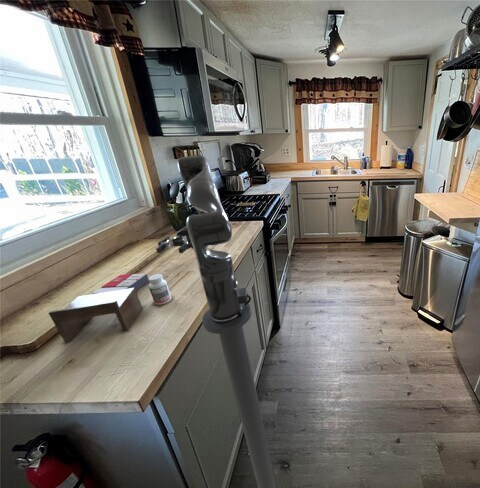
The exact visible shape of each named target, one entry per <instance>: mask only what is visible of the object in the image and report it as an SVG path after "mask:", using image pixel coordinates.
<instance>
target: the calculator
mask: <svg viewBox="0 0 480 488" xmlns="http://www.w3.org/2000/svg"><path fill="white" fill-rule="evenodd" d="M148 278H149V276H148V274H146V273H133V274H131V273H128V274H127V273H126V274H119V275H118V276H116V277H114V278H113V279H111V280H109V281H108V282H106V283H105V284H103V285H102V286H101V287H100V288H98V289H96V290H94V291H93V292H91V294H97V293H103V292H110V291H116V290H122V289H129V288H135V290H136V291H138V290H139V289H140V288H142V287H143V286H145V285H146V283H148V282H149V280H148Z"/></svg>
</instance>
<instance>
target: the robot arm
mask: <svg viewBox="0 0 480 488" xmlns="http://www.w3.org/2000/svg"><path fill="white" fill-rule="evenodd" d="M176 164H177V165H176V166H177V170H178V173H179V176H180V178H181V180H182V182H183V184H184V186H185V187H186V193H187V198H188V202H189V204H190V205H191V206H192V207H193V208H194V209H195V210H196V212H197V213H196V214H190V215H189V216H187V218H186V222H185V223H186V225H185V226H184V227H182V228H181V229H180V230H178V231H177V233H176V236H174V237H172V238H170V236H166V237H164V238H163V239H161V240H159V241H158V242H157V245H158V246H157V247H156V248H155V250H156V253H157V254H161V253H163V252H164V251H165V250H167V249H174V248H176V247H178V253H179V254H184V252H186V251H187V250H190V249H193V252H194V254H195V259H196V263H197V267H198V270H199V276H200V279H201V283H202V286H203V290H204V293H205V298H206V301H207V306H208V310H209V309H210V314H211V318H212V320H213V321H214V322H217V323H226V322H230V321H232V320H234V319H236V318H237V317H241V316H242V304H243V303H245V304H244V305H245V306H246V305H247V304H249V303H250V302H251V301H252V297H251V296H250V295H249V293H248V289H247V287H242V288H241V287H240V286H239V283H238V281H237V279H236V274H235V268H234V264H233V258H232V256H231V254H230V253H229V252H226V251H222V250H215V249H211V248H208V247H213V246H217V245H223V244H226V243H228V242H230V241H231V240H232V239H231V238H232V235H233V231H232V226H231V223H230V220H229V217H228V215H227V213H226V211H225V209H224V207H223V205H222V202H221V198H220V194H219V192H218V188H217V186H216V184H215V181H214V179H213V175H212V174H213V173H212V170H211V166H210V163H209V161H208V159H207V157H205V156H204V155H199V154H198V155H189V156H182V157H179V158H178V159H177V161H176ZM239 287H240V288H239Z"/></svg>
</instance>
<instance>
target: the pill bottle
mask: <svg viewBox="0 0 480 488" xmlns="http://www.w3.org/2000/svg"><path fill="white" fill-rule="evenodd" d="M148 280H149V281H148V282H149V284H148V289H149V291H150V295H151V297H152V300H153V303H154V304H155V305H157V306H161V305H164V304H166V303H167V304H168V303H169V302H170V301H171V300H172V295H171V291H170V289H169V285H168V283H167V280H165V279H164V278H163V275H162V274H160V273H157V274H153V275H150V276H148Z"/></svg>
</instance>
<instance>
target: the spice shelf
mask: <svg viewBox="0 0 480 488" xmlns="http://www.w3.org/2000/svg"><path fill="white" fill-rule="evenodd" d="M142 308H143V305H142V303H141V301H140V298H139V295H138V293H137V290H135V288H129V289H122V290H116V291H110V292H103V293H97V294H92V293H91V294H90V293H89V294H84V295H78V296H76V298H74V299H73V300H72V301H71V302H70V303H69V304H68V305H67V306H66V307H64V308H63V309H57V310H51V311H49V312H48V316H49V317H50V319H51V321H52V322H53V324H54V326H55V328H56V329H57V331H58V333H59V335H60V336H61V338H62V340H63V342H64V343H68V342H70V341H71V340H72V339H73V338H74V337H75V336H76V335H77V334H78V332H80V330H81V329H82V328H83V327H84V326H85V325H86V323H87V322H88V321H89V320H90V319H91V318H94V317H100V316H105V315H112V314H115V316H116V318H117V321H118V323H119V325H120V328H121V329H122V332H127V331H129V329H130V328H131V326H132V324H133V323H134V321H135V319H136V318H137V316H138V315H139V313H140V312H141V310H142Z"/></svg>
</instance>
